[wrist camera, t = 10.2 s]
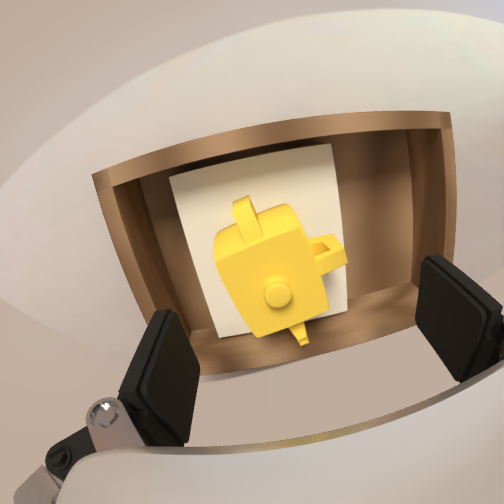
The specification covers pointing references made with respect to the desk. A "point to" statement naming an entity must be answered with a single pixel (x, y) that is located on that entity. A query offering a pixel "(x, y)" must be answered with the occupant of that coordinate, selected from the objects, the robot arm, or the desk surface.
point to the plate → (262, 197)
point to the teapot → (275, 268)
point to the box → (352, 214)
